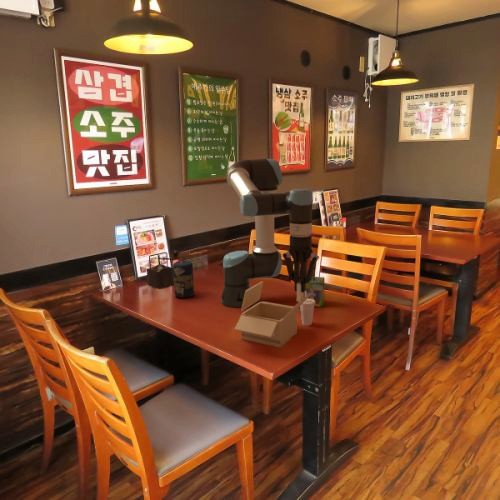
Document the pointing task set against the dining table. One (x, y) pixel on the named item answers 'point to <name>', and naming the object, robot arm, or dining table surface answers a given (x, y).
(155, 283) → the dark condiment caddy
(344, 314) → the dining table surface
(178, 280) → the canister
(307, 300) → the smoothie
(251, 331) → the flap
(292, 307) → the flap
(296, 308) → the flap
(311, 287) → the chalk box
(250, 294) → the flap
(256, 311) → the carton
